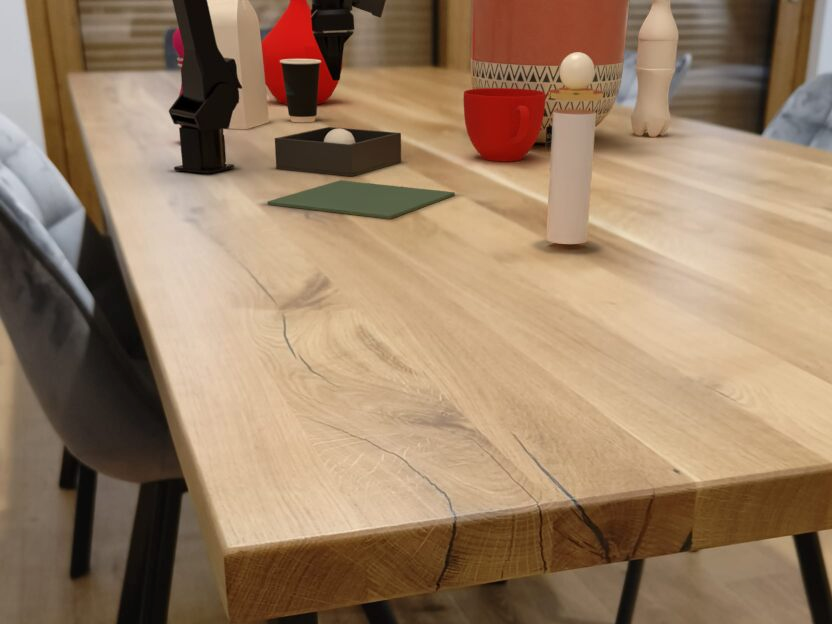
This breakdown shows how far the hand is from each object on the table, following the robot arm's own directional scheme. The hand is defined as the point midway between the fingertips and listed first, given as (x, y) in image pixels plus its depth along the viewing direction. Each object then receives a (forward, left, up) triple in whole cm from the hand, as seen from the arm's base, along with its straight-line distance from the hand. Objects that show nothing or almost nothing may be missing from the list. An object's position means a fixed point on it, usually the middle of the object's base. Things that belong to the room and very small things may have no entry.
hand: (335, 76), depth 173 cm
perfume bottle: (-42, -55, -12) cm, 70 cm away
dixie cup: (+34, +29, -12) cm, 46 cm away
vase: (+60, +46, -12) cm, 77 cm away
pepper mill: (0, +28, -12) cm, 30 cm away
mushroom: (-8, -5, -12) cm, 15 cm away
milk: (+22, +38, -12) cm, 46 cm away
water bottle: (+51, -36, -12) cm, 64 cm away
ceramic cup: (+10, -25, -12) cm, 30 cm away
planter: (+33, -22, -12) cm, 42 cm away
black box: (-8, -5, -12) cm, 15 cm away
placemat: (-30, -22, -12) cm, 39 cm away
